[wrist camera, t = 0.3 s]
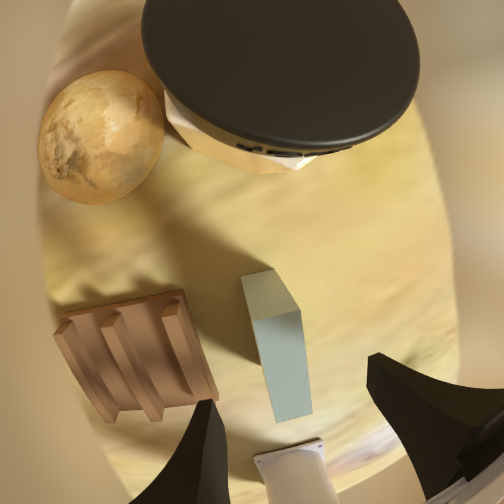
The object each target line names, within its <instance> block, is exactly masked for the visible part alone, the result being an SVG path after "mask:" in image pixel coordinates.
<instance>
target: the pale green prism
mask: <svg viewBox="0 0 504 504" xmlns="http://www.w3.org/2000/svg"><path fill="white" fill-rule="evenodd" d="M240 277H241V282H242V286H243V290H244V295H245V299H246V303H247V308H248V312H249V316H250V321H251V325H252V329H253V334H254V338H255V342H256V346H257V351H258V355H259V359H260V363H261V367H262V371H263V375H264V379H265V383H266V386H267V390H268V394H269V398H270V402H271V405H272V409H273V413H274V417H275V420H276V423H279V422H283V421H287V420H291V419H295V418H298V417H302V416H305V415H309V414H312V413H313V412H312V402H311V393H310V383H309V374H308V366H307V357H306V349H305V341H304V333H303V326H302V318H301V311H300V308H299V307H298V305H297V304H296V302H295V300H294V299H293V297H292V296H291V294H290V293H289V291H288V289H287V288H286V286H285V285H284V283H283V282H282V280H281V278H280V277H279V275H278V274H277V272H276V271H275V269H271V270H267V271H262V272H258V273H254V274H249V275H245V276H240Z"/></svg>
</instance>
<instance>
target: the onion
mask: <svg viewBox="0 0 504 504" xmlns="http://www.w3.org/2000/svg"><path fill="white" fill-rule="evenodd" d="M164 131H165V128H164V116H163V112H162V109H161V106H160V103H159V101H158V99H157V97H156V95H155V93H154V92H153V90H152V89H151V88H150V87H149V86H148V85H147V84H146V83H145V82H144V81H143V80H141V79H140V78H138V77H137V76H135V75H133V74H130V73H127V72H124V71H117V70H106V71H99V72H95V73H91V74H88V75H85V76H83V77H81V78H79V79H77V80H76V81H74V82H72V83H71V84H70V85H68V86H67V87H66V88H65V89H64V90H63V91H61V92H60V93H59V94H58V95H57V97H56V98H55V99H54V101H53V102H52V103H51V105H50V106H49V108H48V109H47V111H46V113H45V115H44V117H43V120H42V123H41V127H40V131H39V138H38V159H39V163H40V166H41V169H42V171H43V174H44V177H45V179H46V181H47V183H48V184H49V186H50V187H51V188H52V189H53V190H54V191H55V192H56V193H58V194H60V195H61V196H63V197H65V198H67V199H69V200H71V201H74V202H78V203H82V204H87V205H100V204H105V203H110V202H113V201H116V200H118V199H121V198H123V197H124V196H126V195H128V194H129V193H130V192H132V191H133V190H134V189H135V188H136V187H138V186H139V185H140V184H141V183H142V182H143V180H144V179H145V178H146V177H147V175H148V174H149V172H150V171H151V169H152V168H153V166H154V164H155V162H156V161H157V159H158V156H159V155H160V152H161V148H162V144H163V139H164Z"/></svg>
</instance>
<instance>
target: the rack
mask: <svg viewBox="0 0 504 504" xmlns="http://www.w3.org/2000/svg"><path fill="white" fill-rule="evenodd" d="M60 319H61V322H62V325H61V326H60V327H59V328H58V330H57V331H56V332H55V333H54V334H53V337H54V339H55V341H56V343H57V345H58V347H59V349H60V351H61V353H62V354H63V356H64V358H65V360H66V362H67V364H68V365H69V367H70V369H71V371H72V372H73V374H74V376H75V377H76V379H77V381H78V382H79V384H80V386H81V387H82V389H83V391H84V392H85V394H86V395H87V397H88V398H89V400H90V401H91V403H92V404H93V406H94V407H95V409H96V410H97V412H98V413H99V414H100V416H101V417H102V419H103V420H104V421H105V423H115V422H116V419H117V415H118V412H119V411H127V410H144V412H145V413H146V415H147V417H148V418H149V420H150V421H151V422H155V421H162V418H163V412H164V408H168V407H177V406H185V405H193V404H197V402H198V401H199V400H206V399H213V401H214V403H215V401H219V393H218V390H217V388H216V385H215V382H214V380H213V377H212V374H211V372H210V369H209V366H208V364H207V361H206V358H205V355H204V353H203V350H202V347H201V344H200V341H199V338H198V335H197V332H196V329H195V326H194V323H193V320H192V317H191V314H190V311H189V308H188V304H187V301H186V298H185V295H184V291H183V289H182V290H178V291H173V292H168V293H163V294H159V295H154V296H149V297H144V298H139V299H134V300H129V301H124V302H119V303H114V304H109V305H104V306H99V307H94V308H88V309H83V310H78V311H72V312H67V313H65V314H64V315H63V316H62V317H61V318H60ZM215 406H216V405H215Z"/></svg>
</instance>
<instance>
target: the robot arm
mask: <svg viewBox="0 0 504 504" xmlns="http://www.w3.org/2000/svg"><path fill="white" fill-rule="evenodd" d="M366 387H367V389H368V391H369V393H370V395H371V397H372V399H373V401H374V403H375V404H376V406H377V407H378V409H379V410H380V411H381V413H382V414H383V416H384V417H385V418H386V420H387V421H388V423H389V424H390V425H391V427H392V428H393V430H394V431H395V432H396V434H397V435H398V437H399V439H400V440H401V442H402V444H403V446H404V448H405V450H406V452H407V454H408V456H409V458H410V460H411V462H412V464H413V466H414V468H415V471H416V473H417V476H418V478H419V481H420V483H421V486H422V489H423V492H424V495H425V498H426V502H424V503H422V504H498V503H499V502H500V501H501V500H502V499H503V498H504V389H481V388H471V387H465V386H459V385H454V384H450V383H447V382H443V381H440V380H437V379H434V378H431V377H429V376H426V375H424V374H422V373H419V372H417V371H415V370H413V369H411V368H409V367H407V366H405V365H403V364H401V363H399V362H397V361H395V360H393V359H391V358H389V357H387V356H386V355H384V354H382V353H380V352H379V353H376V354H373V355H371V356H368V368H367V385H366ZM253 458H254V462H255V464H256V466H257V469H258V471H259V473H260V475H261V478H262V480H263V482H264V484H265V487H266V491H267V496H268V501H269V504H340V503H339V500H338V498H337V495H336V492H335V490H334V487H333V485H332V482H331V480H330V477H329V475H328V472H327V470H326V467H325V452H324V441H323V440H322V439H320V440H316V441H313V442H309V443H306V444H302V445H299V446H295V447H291V448H287V449H283V450H279V451H275V452H270V453H265V454H261V455H256V456H254V457H253ZM129 504H231V503H230V497H229V490H228V464H227V441H226V434H225V427H224V424H223V422H222V420H221V417H220V415H219V413H218V410H217V408H216V406H215V403H214V401H213V399H206V400H199V401H198V402H197V405H196V408H195V411H194V413H193V416H192V418H191V420H190V423H189V425H188V427H187V429H186V431H185V434H184V436H183V438H182V440H181V441H180V443H179V445H178V447H177V449H176V450H175V452H174V454H173V455H172V457H171V458H170V460H169V461H168V463H167V464H166V466H165V467H164V468H163V470H162V471H161V472H160V473H159V475H158V476H157V477H156V478H155V479H154V481H153V482H152V483H151V484H150V485H149V486H148V487H147V488H146V489H145V490H144V491H143V492H142V493H141V494H139V495H138V496H137V497H136V498H135V499H134V500H132V501H131V502H130V503H129Z"/></svg>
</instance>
